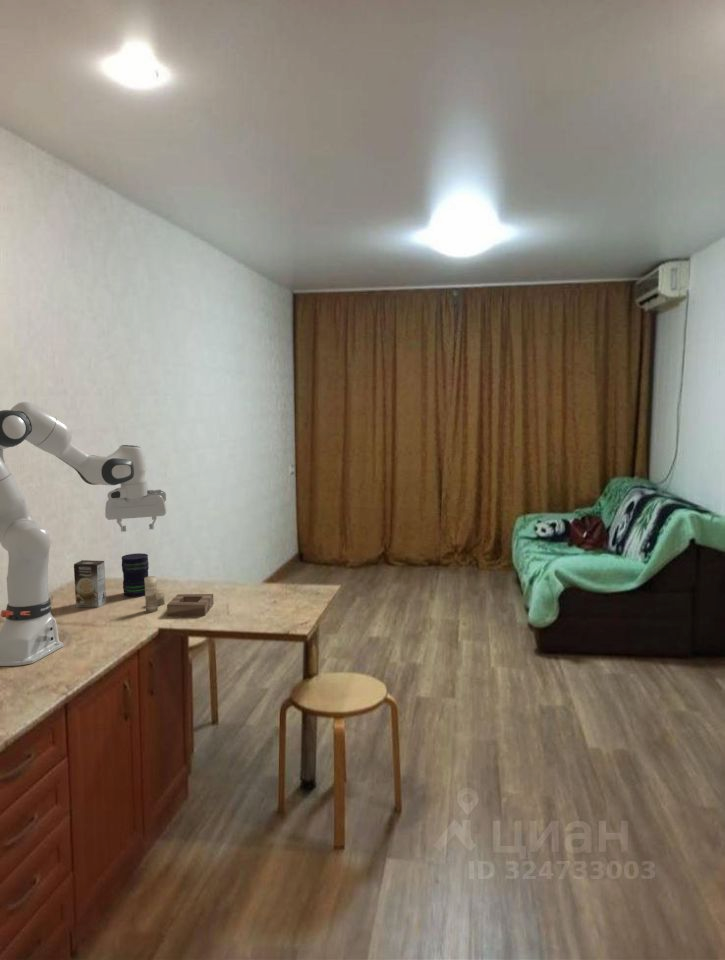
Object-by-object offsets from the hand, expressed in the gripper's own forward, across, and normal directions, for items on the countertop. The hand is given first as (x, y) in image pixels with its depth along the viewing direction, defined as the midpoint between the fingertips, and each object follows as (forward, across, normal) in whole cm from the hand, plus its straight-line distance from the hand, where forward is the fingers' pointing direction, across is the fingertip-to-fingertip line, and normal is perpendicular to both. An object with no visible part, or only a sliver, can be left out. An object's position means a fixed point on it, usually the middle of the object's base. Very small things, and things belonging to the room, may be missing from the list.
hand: (137, 530), depth 240 cm
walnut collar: (+30, -16, +4) cm, 34 cm away
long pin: (+29, -3, +1) cm, 29 cm away
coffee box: (+29, +20, -12) cm, 37 cm away
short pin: (+29, -4, -7) cm, 30 cm away
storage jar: (+30, +5, -23) cm, 38 cm away
